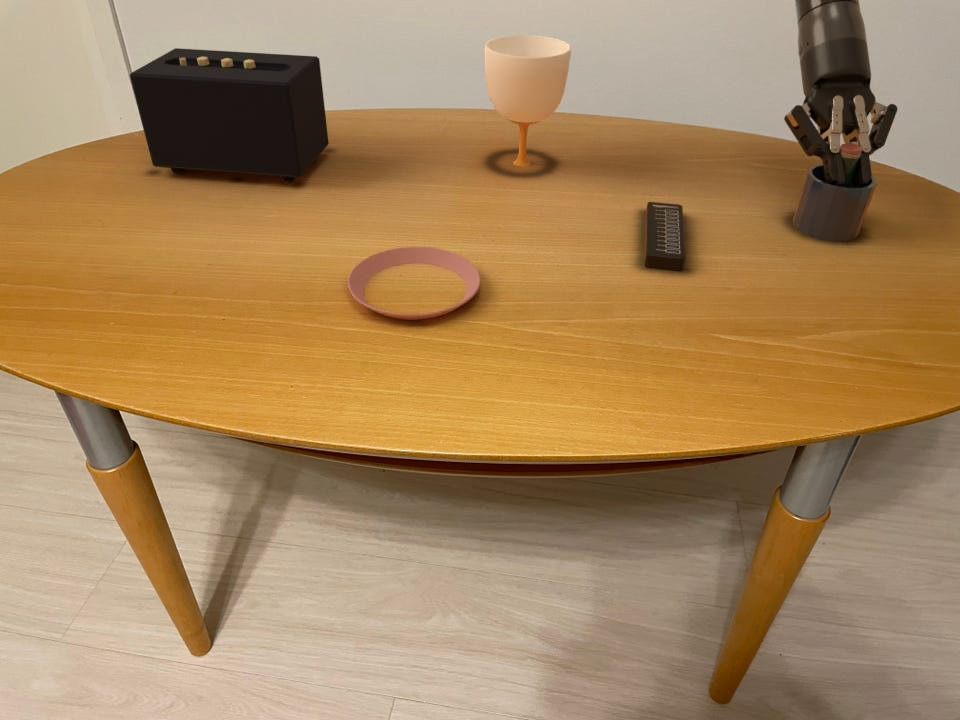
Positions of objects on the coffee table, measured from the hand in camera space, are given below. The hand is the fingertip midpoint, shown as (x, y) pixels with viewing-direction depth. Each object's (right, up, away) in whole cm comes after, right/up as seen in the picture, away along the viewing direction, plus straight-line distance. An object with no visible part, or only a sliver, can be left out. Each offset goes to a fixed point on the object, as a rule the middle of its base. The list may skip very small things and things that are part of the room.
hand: (849, 186), depth 89 cm
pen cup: (0, -4, +6) cm, 7 cm away
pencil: (0, -2, +4) cm, 4 cm away
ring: (-51, -14, -7) cm, 54 cm away
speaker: (-79, +8, +20) cm, 81 cm away
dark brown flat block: (-22, -7, +2) cm, 23 cm away
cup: (-38, +8, +21) cm, 44 cm away
